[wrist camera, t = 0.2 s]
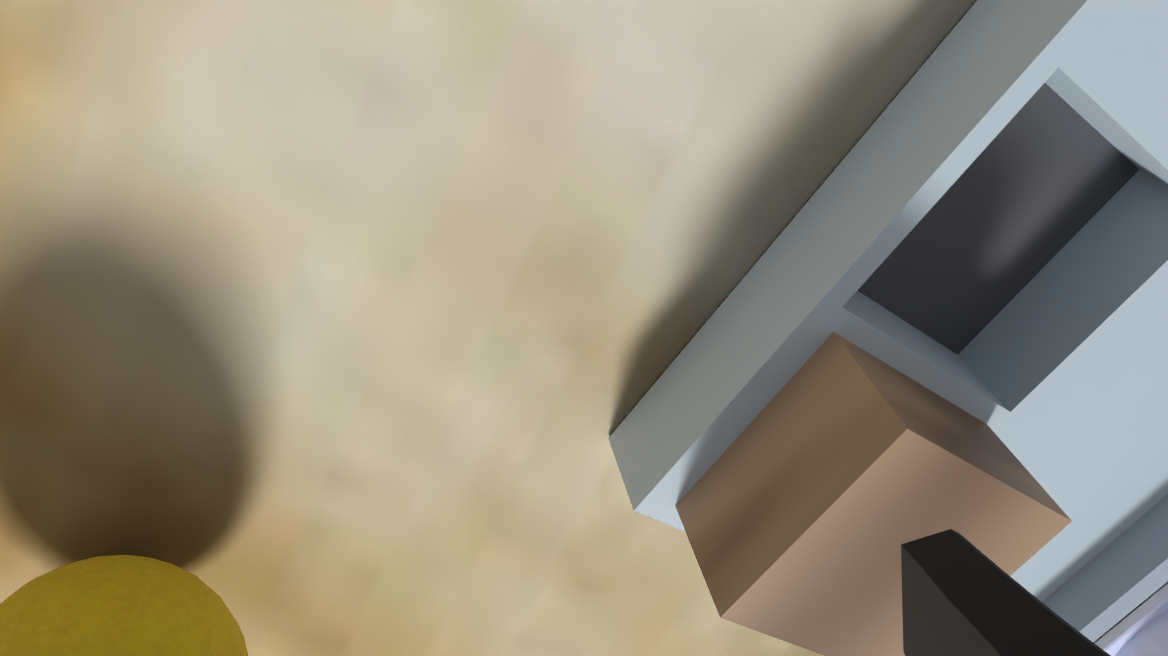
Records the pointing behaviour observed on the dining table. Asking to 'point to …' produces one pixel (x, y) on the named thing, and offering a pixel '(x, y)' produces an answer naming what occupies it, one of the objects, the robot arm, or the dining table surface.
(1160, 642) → the robot arm
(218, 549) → the dining table surface
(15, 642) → the lemon
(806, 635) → the walnut block
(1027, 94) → the trap tray
